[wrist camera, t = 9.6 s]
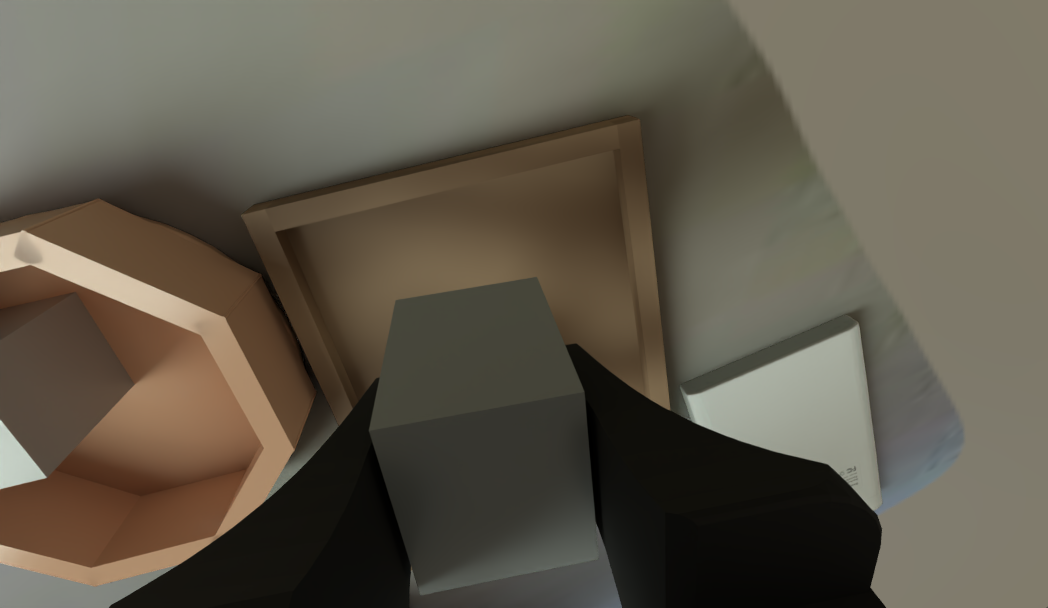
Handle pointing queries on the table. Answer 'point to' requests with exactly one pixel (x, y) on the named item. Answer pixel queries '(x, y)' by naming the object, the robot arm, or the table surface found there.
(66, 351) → the stone
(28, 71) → the table surface
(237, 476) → the bowl
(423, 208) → the tray
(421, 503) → the stone
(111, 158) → the table surface
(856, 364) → the external hard drive
